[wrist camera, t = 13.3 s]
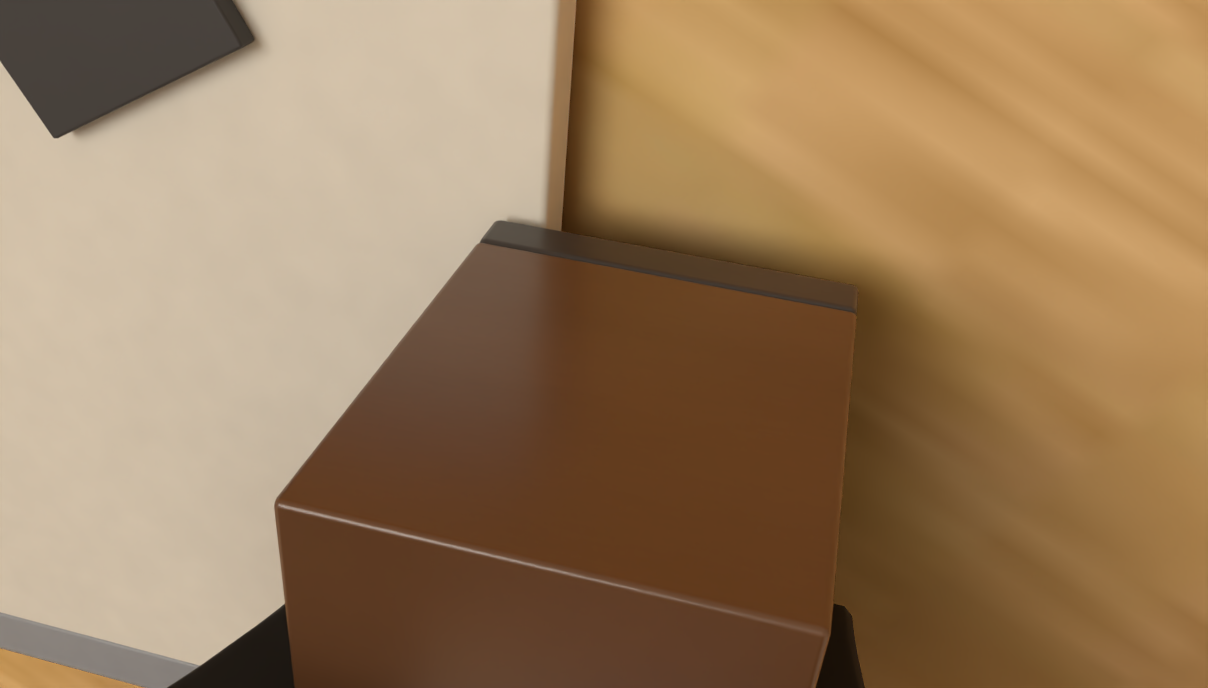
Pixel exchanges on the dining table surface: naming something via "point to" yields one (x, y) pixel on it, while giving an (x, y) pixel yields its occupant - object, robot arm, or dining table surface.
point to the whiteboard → (237, 298)
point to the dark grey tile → (109, 51)
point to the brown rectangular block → (581, 480)
